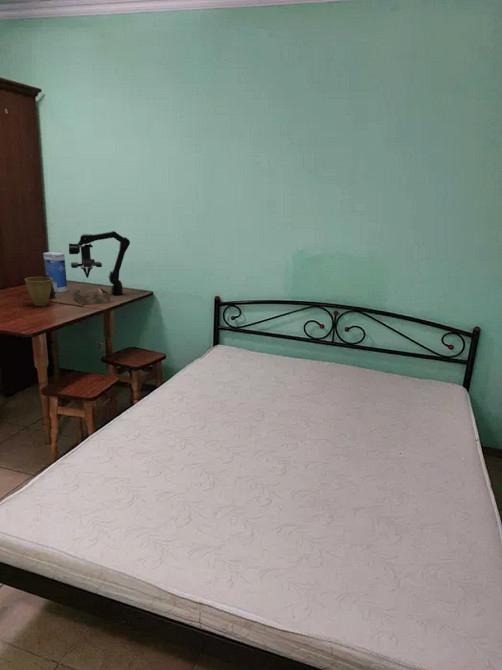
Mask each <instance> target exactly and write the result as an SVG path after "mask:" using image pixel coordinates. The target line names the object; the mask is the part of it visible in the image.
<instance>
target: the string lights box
mask: <svg viewBox="0 0 502 670" xmlns="http://www.w3.org/2000/svg"><path fill="white" fill-rule="evenodd" d="M42 255H43V263H44V272H45V276H46V275H48V276H50V277H49V278H52V283H53V288H54V292H55V293H63V292H68V283H67V281H68V279H67V269H66V258H65V257H66V256H65V253H60V252H54V251H51V252H50V251H49V252H48V251H47V252H43V253H42Z"/></svg>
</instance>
